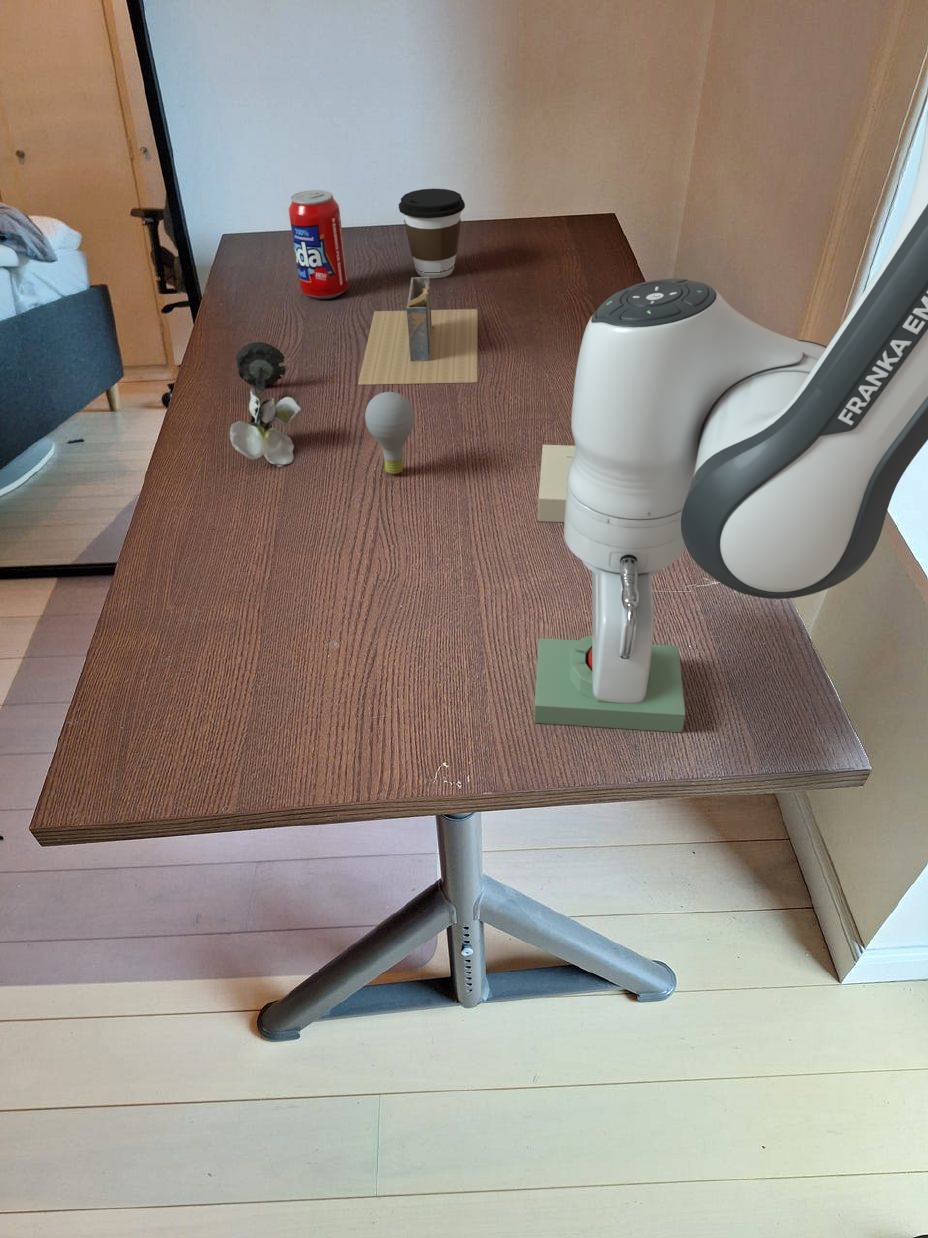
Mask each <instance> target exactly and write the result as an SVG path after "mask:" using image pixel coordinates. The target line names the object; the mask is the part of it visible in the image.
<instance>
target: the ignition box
mask: <svg viewBox="0 0 928 1238" xmlns="http://www.w3.org/2000/svg"><path fill="white" fill-rule="evenodd" d="M591 649H592V634H589V635H585V636H584V637H581V638H580V639H564V638H563V639H562V638H546V637H545V638H543V637H539V638H538V648H537V665H536V677H535V678H536V680H535V696H534V709H533V710H534V711H533V713H534V715H533V723H534V724H546V725H561V726H576V727H592V728H606V729H608V728H609V729H621V730H623V729H624V730H637V731H639V730H640V731H653V732H668V733H670V732H671V733H682V732H683V729H684V724H685V719H686V706H685V697H684V688H683V680H682V679H683V678H682V670H681V661H680V651H679V646H678V645H672V644H657V643H655V644H654V643H653V646H652V654H651V663H650V670H649V677H648V684H647V691H646V695H645V697H644V699H643V700H642V701H641V702H638V703H612V702H604V701H600V700H597V699H596V698H595V697H594V695H593V685H592V671H591V669H590V668H589V667H588V659H589V652H590V650H591Z"/></svg>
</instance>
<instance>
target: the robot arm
mask: <svg viewBox="0 0 928 1238" xmlns="http://www.w3.org/2000/svg"><path fill="white" fill-rule="evenodd" d="M923 135H924V136H923V143H922V148H921V154H920V157H919V158H920V159H919V164H918V168H917V173H916V179H915V180H914V181H915V182H914V186H913V189H912V193H911V196H910V199H909V201H908V202H909V203H908V205H907V208H906V211H905V214H904V215H903V218H902V221H901V224H900V226H899V229H898V231H897V233H896V235H895V237H894V240H893V242H892V244H891V246H890V248H889V250H888V251H887V254H886V255H885V257H884V258H883V261H882V262H881V265H880V266H879V268H878V269H877V270H876V272H875V274H874V275H873V277H872V278H871V280H870V281H869V283H868V284H867V286H866V288H865V289H864V290H863V292H862V294H861V295H860V297H859V298H858V300H856V303H855V304H854V306H853V307H852V309H851V310H850V312H849V313H848V315H847V316H846V318H845V319H844V321H843V322H842V323H841V325H840V327H839V328H838V330H837V331H836V333H835V334H834V336H833V337H832V339H831V340H830V342H829V344H828V345H827V346H826V345H824V344H821V343H818V342H815V341H810V340H804V339H794V338H791V337H789V336H786V335H783V334H781V333H778V332H776V331H773V330H770V329H769V328H767V327H764V326H762V325H760V324H758V323H757V322H755V321H754V320H751V319H749V318H748V317H747V316H745V315H743V314H742V313H740V312H739V311H738V310H736V309H735V308H733V307H732V306H731V305H730V304H729V303H728V302H727V301H726V300H725V299H724V297H723V296H722V295H721V294H720V293H719V292H718V291H717V289H715V288H714V287H712V286H710V285H708V284H707V283H705V282H701V281H696V280H690V279H688V278H661V279H654V280H648V281H644V282H639V283H636V284H633V285H631V286H629V287H627V288H624V289H622V290H618V291H616V292H615V293H614V294H612V295H610V296H609V297H608V298H607V299H606V300H604V302H603V303H601V304H600V305H599V306H598V308H597V309H596V310H595V311H594V312H593V314H592V315H591V317H590V318H589V320H588V322H587V324H586V327H585V330H584V332H583V335H582V340H581V344H580V348H579V353H578V356H577V357H578V358H577V363H576V370H575V376H574V377H575V378H574V387H573V396H572V406H571V417H570V418H571V420H570V421H571V422H570V426H571V427H570V428H571V434H572V437H573V440H574V441H573V442H574V446H575V454H574V458H573V460H572V462H571V465H570V467H569V471H568V477H567V491H566V506H565V522H563V523H564V524H563V538H564V541H565V544H566V546H567V548H568V549H569V550H570V552H571V553H572V554H573V555H574V556H576V558H578V559H579V560H581V563H582V564H583V565H584V566H585V567H586V568H587V569H588V570H589V571H590V572H591V622H592V623H591V635H592V685H593V695H594V697H595V698H596V699H597V700H600V701H604V702H612V703H638V702H641V701H642V700H643V699H644V697H645V695H646V691H647V684H648V677H649V670H650V663H651V654H652V646H653V644H654V633H655V609H654V608H655V607H654V596H653V595H654V594H653V584H652V577H653V576H655V575H656V574H658V573H660V572H661V570H662V569H665V568H667V567H669V566H671V565H673V564H674V563H675V562H677V561H678V560H679V559H680V558H681V557H682V555H683V554H684V553H685V551H686V550H687V552H688V554H689V555H690V557H691V558H692V559H693V561H694V562H695V563H696V565H698V566H699V567H700V568H701V569H702V570H703V571H704V572H705V573H706V574H707V575H709V576H710V577H711V578H713V579H714V580H716V581H717V582H719V583H721V584H722V585H723V586H725V587H727V588H729V589H730V590H731V589H732V590H733V591H736V592H738V593H741V594H743V595H747V596H750V597H756V598H761V599H769V600H770V599H771V600H786V599H787V600H788V599H796V598H801V597H807V596H810V595H814V594H817V593H821V592H823V591H825V590H828V589H830V588H832V587H834V586H838V585H839V584H841V583H843V582H844V581H846V580H848V579H849V578H851V577H852V576H853V575H854V574H856V573H857V572H858V571H859V570H860V569H861V568H862V567H863V566H864V565H865V564H866V563H867V561H868V560H869V559H870V557H871V556H872V554H873V552H874V551H875V549H876V547H877V545H878V542H879V540H880V537H881V534H882V531H883V528H884V524H885V520H886V517H887V512H888V510H889V506H890V504H891V500H892V498H893V495H894V492H895V490H896V488H897V486H898V484H899V482H900V480H901V478H902V476H903V475H904V474H905V472H906V470H907V469H908V467H909V466H910V464H911V463H912V461H913V460H914V459H915V457H916V456H917V455H918V454H919V452H920V451H921V449H922V448H923V447H924V445H926V443H927V442H928V110H927V113H926V119H925V128H924V134H923Z"/></svg>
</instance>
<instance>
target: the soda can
mask: <svg viewBox="0 0 928 1238" xmlns="http://www.w3.org/2000/svg"><path fill="white" fill-rule="evenodd" d="M290 201H291V203H290V205H289V207H288V216H289V223H290V229H291V230H290V231H291V236H292V241H293V248H294V249H293V250H294V255H295V261H296V267H297V273H298V279H299V280H298V281H299V286H300V291H301V292H302V293H303V294H304V295H306V296H307V297H310V298H313V299H316V300H328V299H334V298H336V297H339V296H341V295H342V294H343V293H345V292H346V291H347V290H348V288H349V277H348V269H347V261H346V252H345V245H344V236H343V228H342V227H343V226H342V219H341V211H340V206H339V203H338V202H337V201H336V200H335V198H334V193H332V192H331V191H329V190H323V189H322V190H321V189H313V190H311V189H310V190H304V191H300V192H299V191H298V192H297V193H295V194H292V196H291V197H290Z"/></svg>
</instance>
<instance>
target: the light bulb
mask: <svg viewBox="0 0 928 1238" xmlns="http://www.w3.org/2000/svg"><path fill="white" fill-rule="evenodd" d="M364 419H365V421H364V422H365V425H366V427H367V430H368V432H369V433H370V435H371V436H372V437H373V439H374V440H375V441H376V442H377V444H379V446H380V448H381V449H382V454H383V459H384V467H385V468H384V470H385V472H386V473H388V474H390V475H397V474H400V473H401V472H403V470H404V446H405V443H406V441H407V439H408V438H409V436H410V434H411V433H412V430H413V429H414V424H415V410H414V408H413V406H412V404H411V403H410V400H408V399H407V398H406V397H405V395H402V394H400V393H398V392H395V391H384V392H380V393H378V394H376V395H375V396H373V398H372V399H371V400H370V401H368V403H367V406H366V408H365V412H364Z"/></svg>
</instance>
